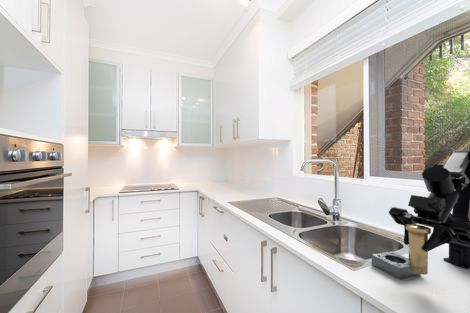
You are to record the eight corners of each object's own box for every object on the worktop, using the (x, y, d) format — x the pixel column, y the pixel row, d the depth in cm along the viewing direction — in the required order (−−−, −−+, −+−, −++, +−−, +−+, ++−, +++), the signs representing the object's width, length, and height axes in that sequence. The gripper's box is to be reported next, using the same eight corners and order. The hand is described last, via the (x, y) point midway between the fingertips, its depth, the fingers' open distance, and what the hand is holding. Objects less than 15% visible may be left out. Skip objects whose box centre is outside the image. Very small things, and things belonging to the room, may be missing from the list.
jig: (391, 261, 74) (391, 251, 74) (420, 275, 65) (420, 263, 65) (371, 265, 71) (371, 254, 71) (399, 279, 62) (399, 267, 62)
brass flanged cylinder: (414, 264, 61) (414, 223, 62) (435, 274, 56) (435, 229, 57) (401, 267, 60) (401, 225, 60) (422, 277, 55) (422, 231, 55)
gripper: (392, 181, 69) (367, 219, 65) (473, 190, 51) (446, 241, 47) (408, 204, 71) (385, 241, 67) (490, 219, 54) (465, 271, 50)
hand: (414, 247), depth 58 cm, fingers closed on brass flanged cylinder, 4 cm apart
